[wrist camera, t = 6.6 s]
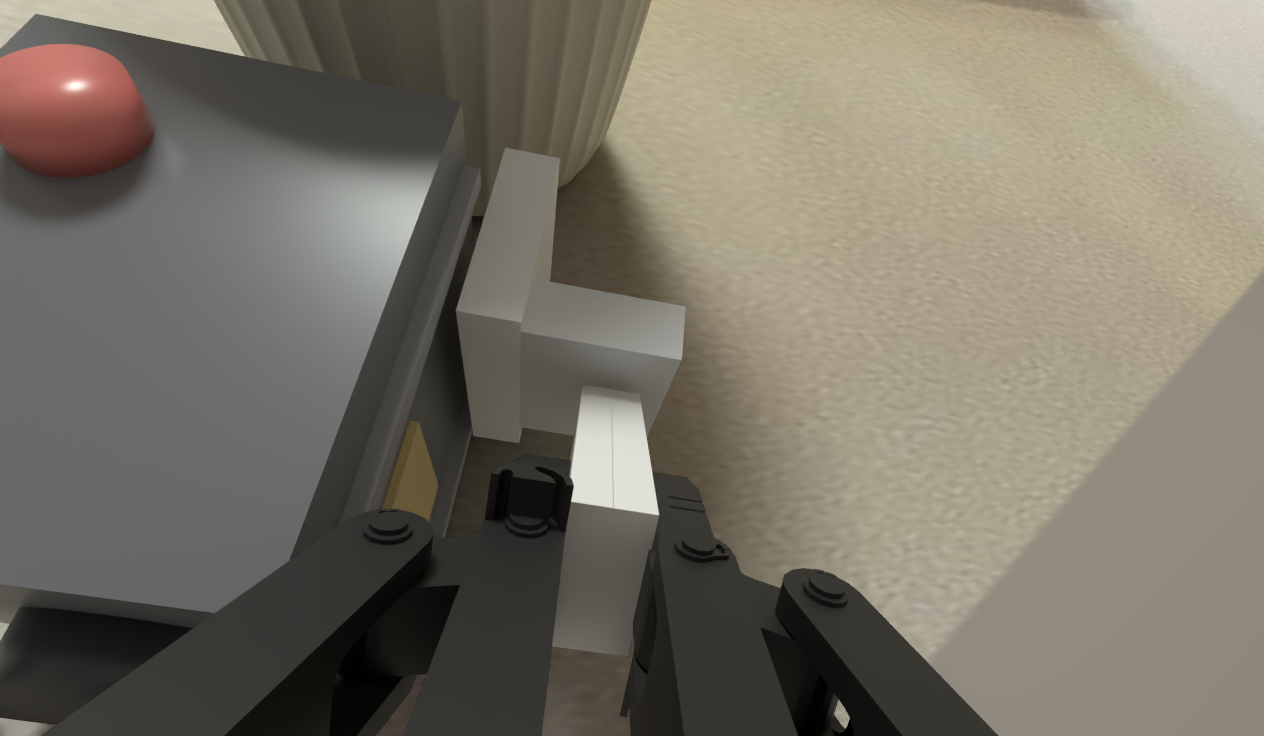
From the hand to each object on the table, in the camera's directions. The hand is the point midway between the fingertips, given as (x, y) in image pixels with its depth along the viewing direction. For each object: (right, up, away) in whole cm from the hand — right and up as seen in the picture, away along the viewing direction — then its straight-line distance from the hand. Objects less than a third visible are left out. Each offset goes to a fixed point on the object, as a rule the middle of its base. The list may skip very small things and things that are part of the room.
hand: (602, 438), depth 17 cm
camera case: (-10, -2, +4) cm, 11 cm away
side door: (-1, +2, +6) cm, 6 cm away
